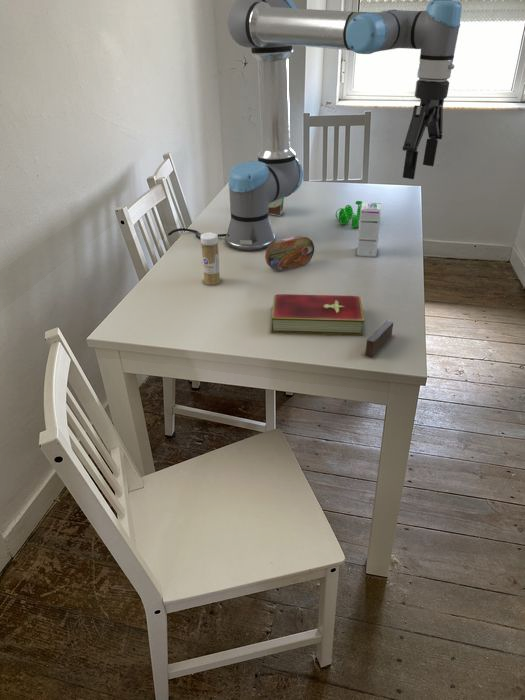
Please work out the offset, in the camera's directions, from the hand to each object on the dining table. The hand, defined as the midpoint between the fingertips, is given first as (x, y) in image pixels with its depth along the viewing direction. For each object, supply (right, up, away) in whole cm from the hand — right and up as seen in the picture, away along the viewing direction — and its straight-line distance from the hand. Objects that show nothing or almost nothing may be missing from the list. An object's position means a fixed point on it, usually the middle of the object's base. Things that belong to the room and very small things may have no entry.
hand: (418, 171), depth 136 cm
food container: (-36, +8, +51) cm, 63 cm away
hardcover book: (-27, -39, -9) cm, 48 cm away
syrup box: (-9, -17, +24) cm, 30 cm away
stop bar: (-14, -45, -18) cm, 51 cm away
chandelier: (-8, -2, +44) cm, 45 cm away
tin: (-32, -22, +16) cm, 42 cm away
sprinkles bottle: (-54, -27, +9) cm, 61 cm away
